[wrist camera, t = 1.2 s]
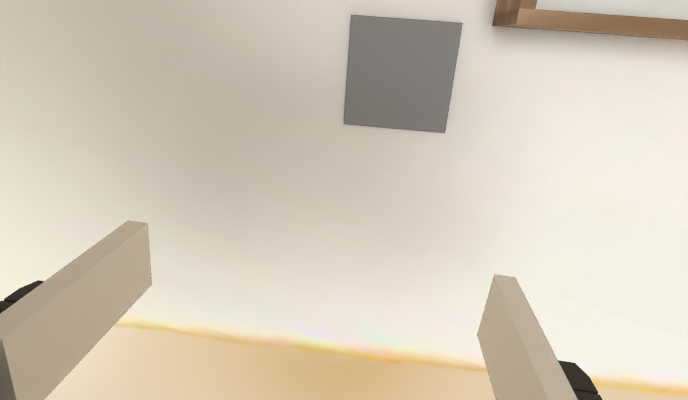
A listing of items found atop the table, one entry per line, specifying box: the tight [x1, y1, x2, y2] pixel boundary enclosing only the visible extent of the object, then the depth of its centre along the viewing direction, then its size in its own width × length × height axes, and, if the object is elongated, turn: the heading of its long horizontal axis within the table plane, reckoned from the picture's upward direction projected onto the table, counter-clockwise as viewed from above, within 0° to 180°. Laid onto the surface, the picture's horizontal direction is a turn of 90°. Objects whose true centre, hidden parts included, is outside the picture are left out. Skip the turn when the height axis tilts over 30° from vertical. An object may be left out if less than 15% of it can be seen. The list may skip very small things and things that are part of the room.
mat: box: [344, 15, 463, 133], centre depth 37 cm, size 9×9×1 cm
